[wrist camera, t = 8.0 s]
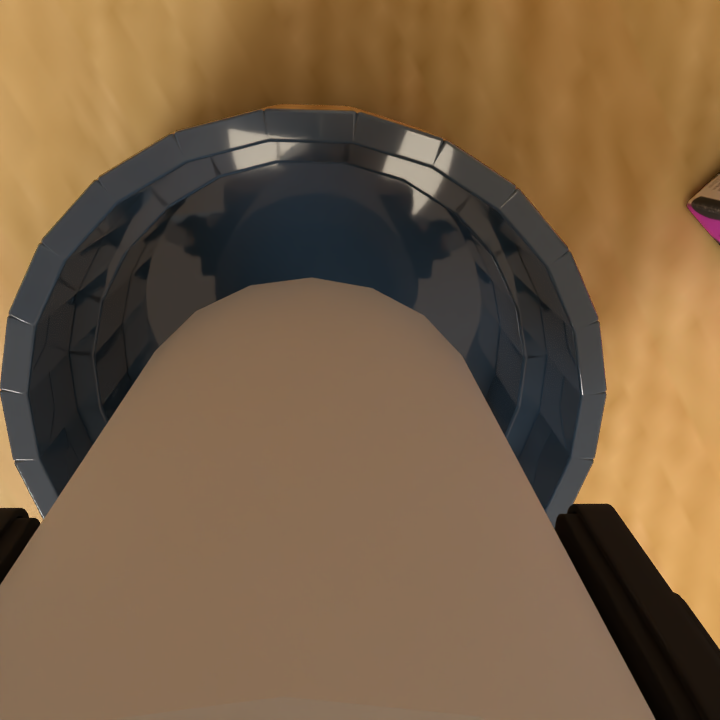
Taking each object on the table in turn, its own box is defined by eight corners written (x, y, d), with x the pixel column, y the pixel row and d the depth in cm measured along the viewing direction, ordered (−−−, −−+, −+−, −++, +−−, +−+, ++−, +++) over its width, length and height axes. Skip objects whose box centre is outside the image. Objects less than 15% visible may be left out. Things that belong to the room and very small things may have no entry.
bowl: (56, 97, 17) (-60, 99, 12) (562, 111, 18) (658, 118, 13) (114, 526, 22) (50, 658, 17) (507, 522, 23) (560, 648, 17)
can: (461, 566, 16) (755, 1578, 5) (153, 567, 16) (-250, 1677, 5) (495, 270, 14) (1283, 1076, 2) (123, 261, 13) (-1025, 1207, 2)
